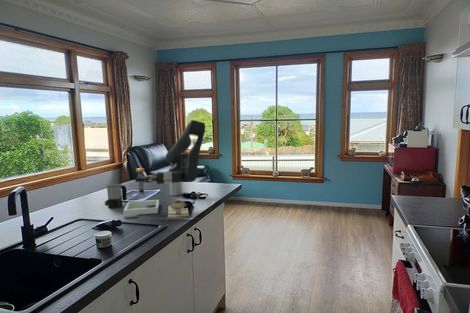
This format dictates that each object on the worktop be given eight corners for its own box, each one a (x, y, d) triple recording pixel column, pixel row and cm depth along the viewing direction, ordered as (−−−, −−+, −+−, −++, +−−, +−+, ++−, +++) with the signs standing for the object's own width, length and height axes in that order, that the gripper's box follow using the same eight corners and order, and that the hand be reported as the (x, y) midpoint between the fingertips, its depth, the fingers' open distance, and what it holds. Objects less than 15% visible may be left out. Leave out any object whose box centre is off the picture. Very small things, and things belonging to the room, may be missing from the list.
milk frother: (117, 209, 202) (116, 186, 200) (96, 208, 205) (94, 186, 204) (129, 203, 216) (128, 182, 214) (108, 202, 219) (107, 181, 217)
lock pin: (139, 192, 196) (137, 168, 195) (146, 192, 196) (145, 167, 194) (136, 194, 192) (134, 169, 190) (144, 194, 191) (142, 169, 189)
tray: (128, 208, 203) (128, 201, 202) (159, 206, 206) (158, 199, 206) (123, 217, 184) (123, 210, 183) (157, 214, 188) (157, 207, 187)
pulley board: (168, 207, 203) (167, 193, 202) (187, 206, 205) (186, 192, 204) (167, 219, 179) (167, 204, 178) (188, 217, 181) (188, 202, 180)
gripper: (164, 170, 202) (136, 171, 199) (163, 173, 188) (133, 175, 185) (165, 181, 203) (137, 183, 199) (164, 185, 189) (134, 187, 186)
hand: (135, 179), depth 192 cm, fingers closed on lock pin, 3 cm apart
